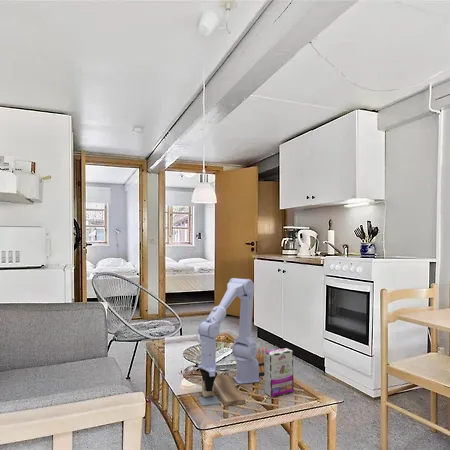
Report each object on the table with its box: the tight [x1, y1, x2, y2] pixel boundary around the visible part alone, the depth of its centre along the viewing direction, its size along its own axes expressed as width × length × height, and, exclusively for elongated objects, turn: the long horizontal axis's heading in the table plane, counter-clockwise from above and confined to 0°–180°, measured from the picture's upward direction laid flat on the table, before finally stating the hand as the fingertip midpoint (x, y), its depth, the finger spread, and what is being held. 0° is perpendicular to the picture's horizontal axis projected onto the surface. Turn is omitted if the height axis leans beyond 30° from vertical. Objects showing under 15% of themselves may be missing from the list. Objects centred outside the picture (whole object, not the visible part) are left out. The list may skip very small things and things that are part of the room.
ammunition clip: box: [255, 346, 269, 377], centre depth 164 cm, size 11×2×12 cm, turn 114°
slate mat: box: [197, 394, 221, 407], centre depth 135 cm, size 7×7×1 cm
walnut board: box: [214, 374, 247, 407], centre depth 144 cm, size 8×26×2 cm, turn 16°
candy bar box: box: [263, 347, 295, 398], centre depth 143 cm, size 11×5×16 cm, turn 117°
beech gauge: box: [201, 380, 215, 397], centre depth 139 cm, size 4×3×6 cm
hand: (208, 389), depth 139 cm, fingers closed on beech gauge, 3 cm apart
